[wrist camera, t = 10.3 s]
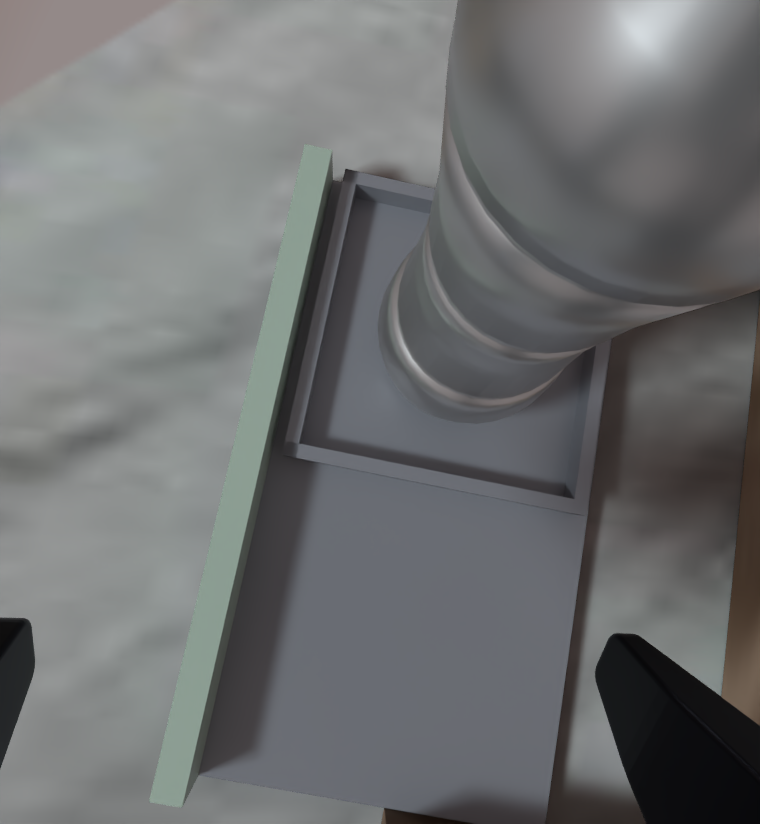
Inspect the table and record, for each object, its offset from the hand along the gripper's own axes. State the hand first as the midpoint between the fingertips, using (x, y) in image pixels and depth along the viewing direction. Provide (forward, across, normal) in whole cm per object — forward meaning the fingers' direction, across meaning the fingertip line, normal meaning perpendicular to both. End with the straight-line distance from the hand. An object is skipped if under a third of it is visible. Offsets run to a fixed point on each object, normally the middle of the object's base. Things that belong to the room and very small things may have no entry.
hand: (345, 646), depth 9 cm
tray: (+12, -5, +4) cm, 13 cm away
